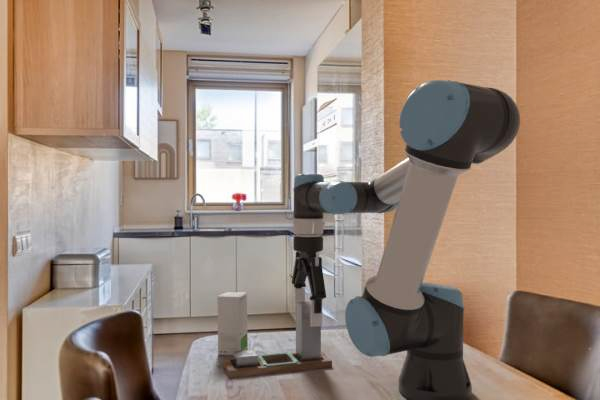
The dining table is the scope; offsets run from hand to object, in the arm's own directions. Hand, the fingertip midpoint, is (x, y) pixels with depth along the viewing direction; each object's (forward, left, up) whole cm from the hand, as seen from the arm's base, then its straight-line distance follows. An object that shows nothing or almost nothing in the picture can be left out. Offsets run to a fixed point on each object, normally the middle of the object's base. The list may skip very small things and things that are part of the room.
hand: (307, 319), depth 126 cm
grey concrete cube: (0, +16, -11) cm, 19 cm away
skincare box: (+15, +17, -11) cm, 25 cm away
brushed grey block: (0, 0, -11) cm, 11 cm away
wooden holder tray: (0, +8, -11) cm, 13 cm away
